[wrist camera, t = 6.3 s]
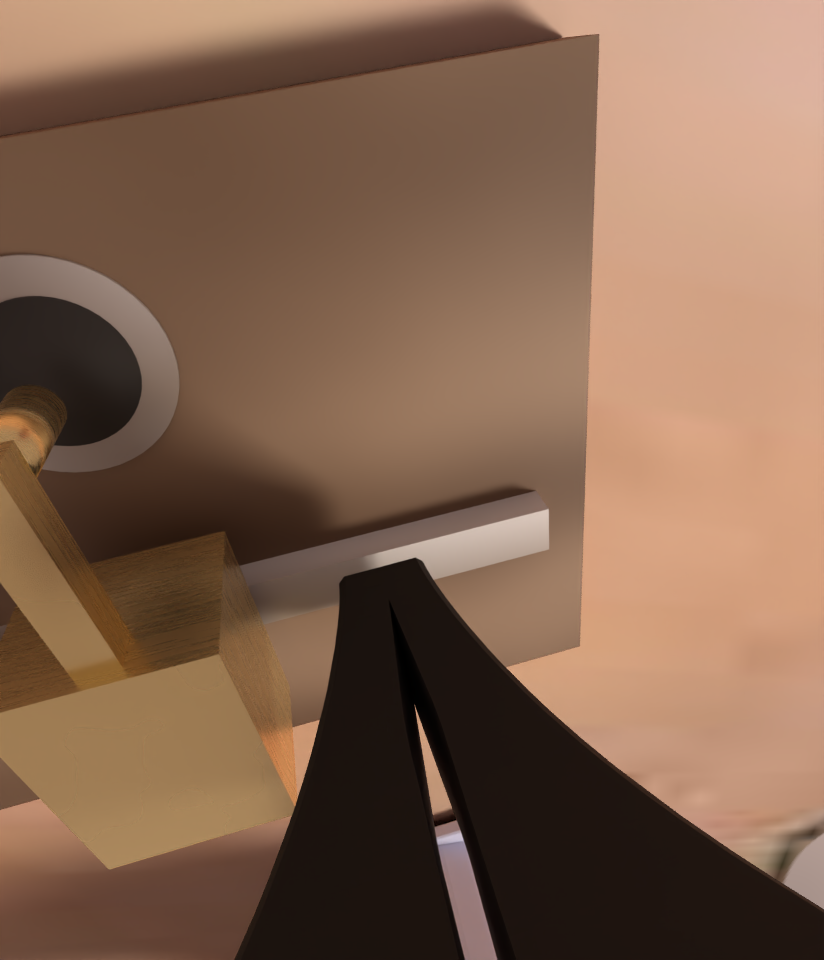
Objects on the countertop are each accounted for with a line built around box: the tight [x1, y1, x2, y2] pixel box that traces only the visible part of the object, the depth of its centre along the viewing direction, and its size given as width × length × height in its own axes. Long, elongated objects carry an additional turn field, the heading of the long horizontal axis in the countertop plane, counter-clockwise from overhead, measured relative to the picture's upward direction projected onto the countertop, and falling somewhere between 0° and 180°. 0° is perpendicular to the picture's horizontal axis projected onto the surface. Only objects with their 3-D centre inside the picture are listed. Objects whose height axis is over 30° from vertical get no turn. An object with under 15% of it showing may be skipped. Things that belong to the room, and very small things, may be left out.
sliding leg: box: [0, 385, 297, 870], centre depth 9 cm, size 7×3×2 cm, turn 8°
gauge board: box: [0, 34, 599, 810], centre depth 9 cm, size 12×20×4 cm, turn 98°
